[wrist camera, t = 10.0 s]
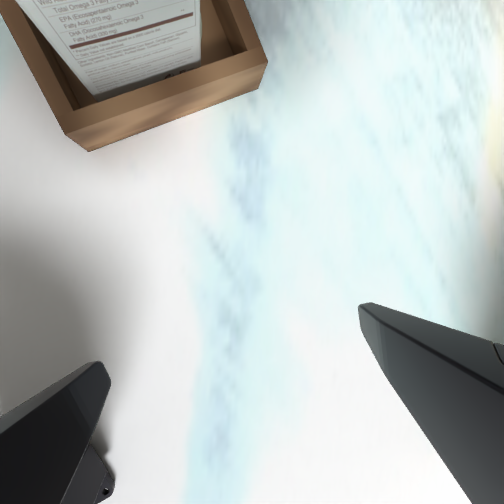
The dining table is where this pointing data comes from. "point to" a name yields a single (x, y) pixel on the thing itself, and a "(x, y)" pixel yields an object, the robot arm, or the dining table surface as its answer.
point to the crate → (151, 96)
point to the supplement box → (120, 40)
